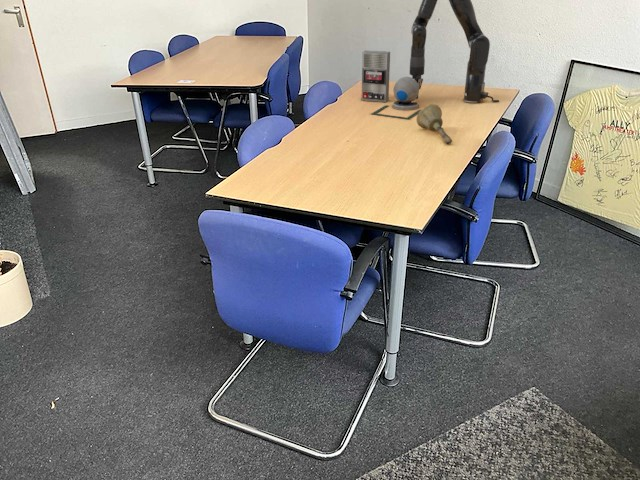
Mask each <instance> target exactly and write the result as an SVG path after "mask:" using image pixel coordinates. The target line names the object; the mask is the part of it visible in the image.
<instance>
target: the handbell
mask: <svg viewBox="0 0 640 480" xmlns="http://www.w3.org/2000/svg"><path fill="white" fill-rule="evenodd" d="M419 110H420V111H419V113H418V114H416V123H417V126H419V127H420V128H422V129H428V130H429V131H431V132H437V133H438V134H439V135H440V137H441V138H442V140H443V142H444V143H445V144H446V145H449V144H452V142H453V139H452V137H450V135H449V134H447V133H446V131H444V128H443V127H442V126H443V124H444V123H443V119H442V116H443V110H442V108H441V107H440V106H439V105H437V104H434V103H432V104H431V103H430V104H428V105H426V106H424V107H423V108H421V109H419Z"/></svg>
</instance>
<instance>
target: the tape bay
mask: <svg viewBox="0 0 640 480" xmlns="http://www.w3.org/2000/svg"><path fill="white" fill-rule="evenodd" d="M388 107H389V105H384V106H383V107H382V106H381V108H379V109H377V110H376V111H374V112H372V113H371V115H375V116H380V117H381V116H382V117H387V118H396V119H402V120H411V119H412V118H413V117H415V116H417V115H418V113H419V111H420V110H421V109H418V110H417V111H415V112H414V113H412V114H411V115H408V117H404V116H397V115H389V114H388V115H387V114H384V113H383V114H382V113H379V112H381V111H382V110H385V109H386V108H388Z"/></svg>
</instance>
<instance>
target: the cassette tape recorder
mask: <svg viewBox="0 0 640 480" xmlns="http://www.w3.org/2000/svg"><path fill="white" fill-rule="evenodd" d="M390 70H391V51H388V50H387V51H385V50H364V51H362V52H361V97H360V101H363V102H364V101H368V102H379V103H387V102H388V101H389V100H390V97H389V96H390V95H389V94H390V73H391V72H390Z"/></svg>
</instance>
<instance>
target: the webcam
mask: <svg viewBox="0 0 640 480" xmlns="http://www.w3.org/2000/svg"><path fill="white" fill-rule="evenodd" d="M392 92H393V96H394V98H395V99H396V101H394V102H393V103H392V108H393V109H396V110H400V111H413V110H416V109H418V108H419V103H418V102H417V101H415V100H417V99H418V98H417V96H418V97H419V94H420V89H419V85H418V83H417V82H416V80H414V79H413V78H412V76H404V77H403V76H402V77H400V78H399V79H398V80H397V81H395V83H394V86H393V90H392ZM416 98H417V99H416Z"/></svg>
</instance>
